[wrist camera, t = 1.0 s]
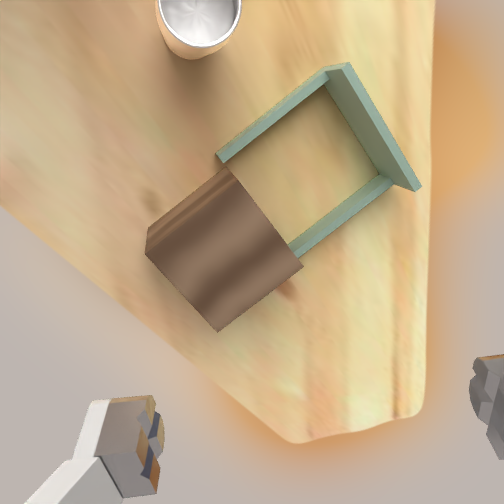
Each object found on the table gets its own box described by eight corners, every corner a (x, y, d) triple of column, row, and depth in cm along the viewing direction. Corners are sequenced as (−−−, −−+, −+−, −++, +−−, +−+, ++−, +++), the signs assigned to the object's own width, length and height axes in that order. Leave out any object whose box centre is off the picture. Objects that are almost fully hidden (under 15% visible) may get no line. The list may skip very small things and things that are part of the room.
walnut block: (148, 227, 55) (144, 253, 46) (225, 166, 55) (238, 180, 45) (209, 295, 60) (217, 332, 50) (281, 239, 59) (303, 266, 50)
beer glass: (213, 72, 51) (231, 62, 37) (151, 52, 49) (145, 34, 35) (229, 5, 49) (255, -31, 35) (165, -17, 47) (165, -65, 33)
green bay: (215, 153, 54) (223, 162, 46) (323, 67, 53) (349, 62, 45) (290, 251, 59) (309, 273, 52) (389, 175, 59) (422, 186, 51)
